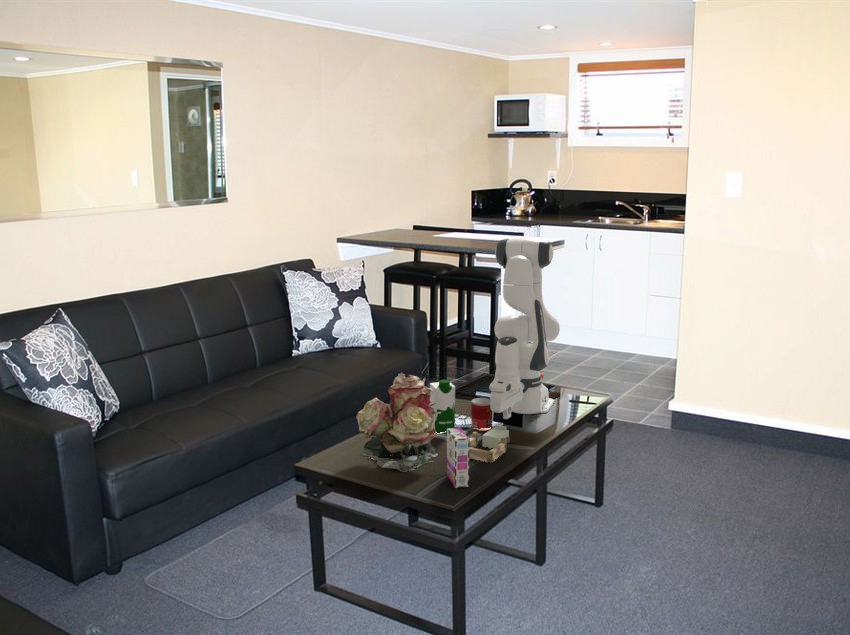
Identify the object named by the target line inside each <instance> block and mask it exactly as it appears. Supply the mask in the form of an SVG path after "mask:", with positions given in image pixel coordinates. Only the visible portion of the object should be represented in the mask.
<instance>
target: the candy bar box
mask: <svg viewBox="0 0 850 635" xmlns="http://www.w3.org/2000/svg"><path fill="white" fill-rule="evenodd" d="M469 445H470V437H469V436H468V435H467V434H466V433H465V431H464V430H463V429H462V428H461V427H455V428H449V429H447V433H446V477H447V478H448V479H449V480H450V482H451V483H452V485H453V487H454V488H455V489H462V488H461V487H463V488H469V487H470V458H469Z"/></svg>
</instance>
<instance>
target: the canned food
mask: <svg viewBox="0 0 850 635" xmlns="http://www.w3.org/2000/svg"><path fill="white" fill-rule="evenodd" d="M470 412H471V414H470V415H471V417H470V418H471V421H470V422H471V425H472V426H473V427H476V428H490V427H492V428H493V412H492V411H491V407H490V398H487V397H477V398H473V399H471V410H470ZM472 426H471V427H472Z"/></svg>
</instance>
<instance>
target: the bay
mask: <svg viewBox="0 0 850 635" xmlns="http://www.w3.org/2000/svg"><path fill="white" fill-rule="evenodd" d="M469 439H470V445H469V460H470V459H471V460H476V461H479V460H480V461H479V462H484V461H485V462H484V463H488V462H490V463H489V464H492V463H493V462H495V461H496V460H497V459H499V458H500V457H502V456H503V455H502V454H503V453H504V454H505V453H507V452H506V451H507V450H508V449H507V447H508V446H507V445H508V443H507V438H501V443H500V444H498V445H497V446H496V447H494V448H493V449H491V448H490V450H485V449H481V448H476V447H478V446H477V445H478V444H479V441H478V439H479V431H473V432H471V436H470V437H469ZM499 456H500V457H499ZM498 457H499V458H498ZM495 459H496V460H495ZM491 462H492V463H491Z"/></svg>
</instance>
